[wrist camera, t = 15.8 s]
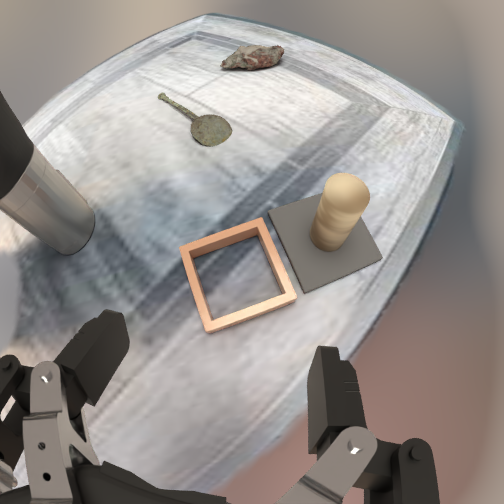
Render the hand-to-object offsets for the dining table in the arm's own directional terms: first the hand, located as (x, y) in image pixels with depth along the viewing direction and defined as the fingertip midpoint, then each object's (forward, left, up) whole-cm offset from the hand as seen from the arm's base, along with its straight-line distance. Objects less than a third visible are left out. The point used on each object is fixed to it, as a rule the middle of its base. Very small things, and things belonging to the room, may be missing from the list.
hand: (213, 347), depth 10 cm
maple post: (-10, +15, -21) cm, 28 cm away
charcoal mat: (-10, +15, -22) cm, 29 cm away
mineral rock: (-56, +22, -22) cm, 64 cm away
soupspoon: (-42, +4, -23) cm, 48 cm away
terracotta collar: (-9, +2, -22) cm, 24 cm away
